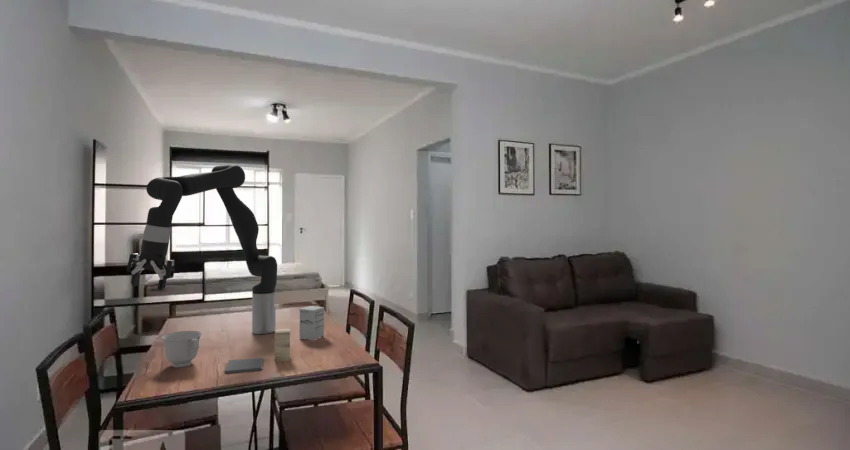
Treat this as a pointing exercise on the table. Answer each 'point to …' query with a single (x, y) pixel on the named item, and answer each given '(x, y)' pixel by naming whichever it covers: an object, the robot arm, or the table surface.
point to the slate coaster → (244, 365)
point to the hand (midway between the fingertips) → (147, 288)
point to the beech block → (282, 345)
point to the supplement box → (311, 322)
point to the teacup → (181, 347)
